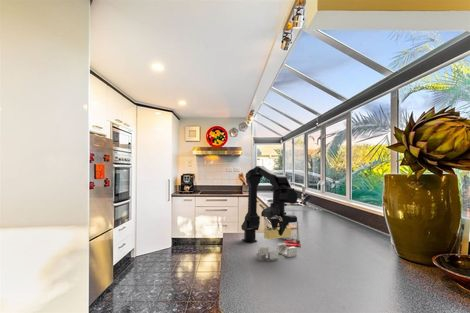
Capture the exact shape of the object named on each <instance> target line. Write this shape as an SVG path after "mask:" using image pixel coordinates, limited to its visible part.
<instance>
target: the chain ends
mask: <svg viewBox="0 0 470 313" xmlns="http://www.w3.org/2000/svg"><path fill="white" fill-rule="evenodd" d="M286 244H287V243H283V242H282V243H276V249H273V250H269V248H270V247H269V246H268V245H265V246H259V247H258V250H257V253H256V260H258V261H259V262H263V261H267V262H269V263H270V262H276V261H279V255H282V256H285V257H286V258H292V257H297V251H298V250H297V246H293V247H291V246H286Z"/></svg>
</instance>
